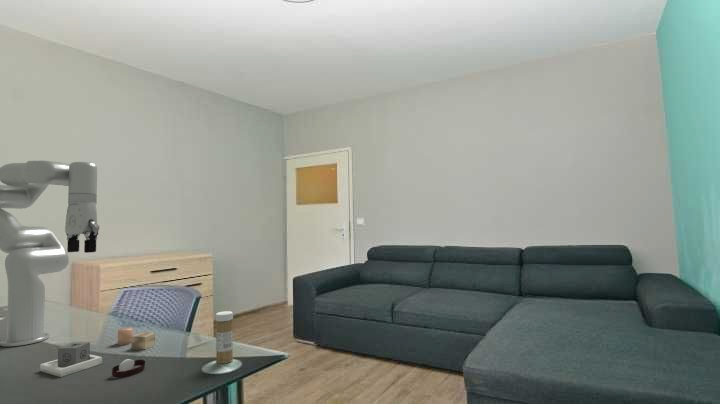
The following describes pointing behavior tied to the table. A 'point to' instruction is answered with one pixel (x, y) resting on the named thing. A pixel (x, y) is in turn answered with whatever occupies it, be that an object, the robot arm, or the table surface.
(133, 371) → the watch
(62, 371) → the dish
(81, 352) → the grey marked block
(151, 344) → the oak block
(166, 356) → the table surface
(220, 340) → the sprinkles bottle
